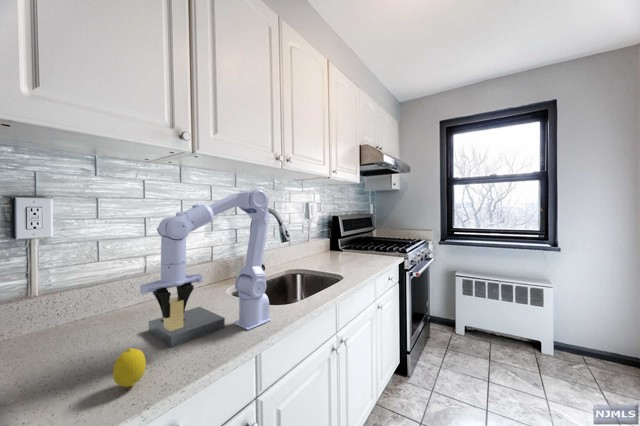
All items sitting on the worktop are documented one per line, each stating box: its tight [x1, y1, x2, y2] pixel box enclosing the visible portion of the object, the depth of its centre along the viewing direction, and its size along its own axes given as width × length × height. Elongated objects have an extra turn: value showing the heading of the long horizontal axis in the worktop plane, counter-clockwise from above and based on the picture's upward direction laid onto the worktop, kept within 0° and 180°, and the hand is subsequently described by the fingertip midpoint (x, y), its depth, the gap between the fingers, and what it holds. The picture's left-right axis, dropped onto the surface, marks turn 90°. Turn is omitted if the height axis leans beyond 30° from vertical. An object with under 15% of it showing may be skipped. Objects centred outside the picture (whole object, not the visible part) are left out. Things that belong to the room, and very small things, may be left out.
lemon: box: [112, 347, 147, 388], centre depth 54 cm, size 6×6×8 cm
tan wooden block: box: [164, 296, 184, 331], centre depth 67 cm, size 3×4×7 cm
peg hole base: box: [148, 306, 226, 348], centre depth 81 cm, size 16×16×3 cm
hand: (173, 314), depth 67 cm, fingers closed on tan wooden block, 3 cm apart
